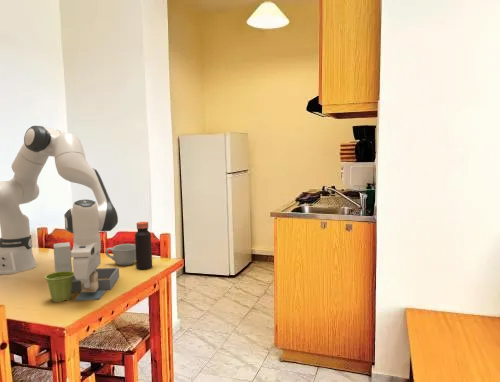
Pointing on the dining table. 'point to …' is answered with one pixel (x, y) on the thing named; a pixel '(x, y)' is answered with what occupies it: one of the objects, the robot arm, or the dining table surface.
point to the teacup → (123, 254)
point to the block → (91, 283)
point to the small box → (62, 257)
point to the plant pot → (60, 285)
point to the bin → (102, 284)
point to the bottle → (143, 246)
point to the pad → (90, 295)
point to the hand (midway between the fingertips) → (89, 284)
